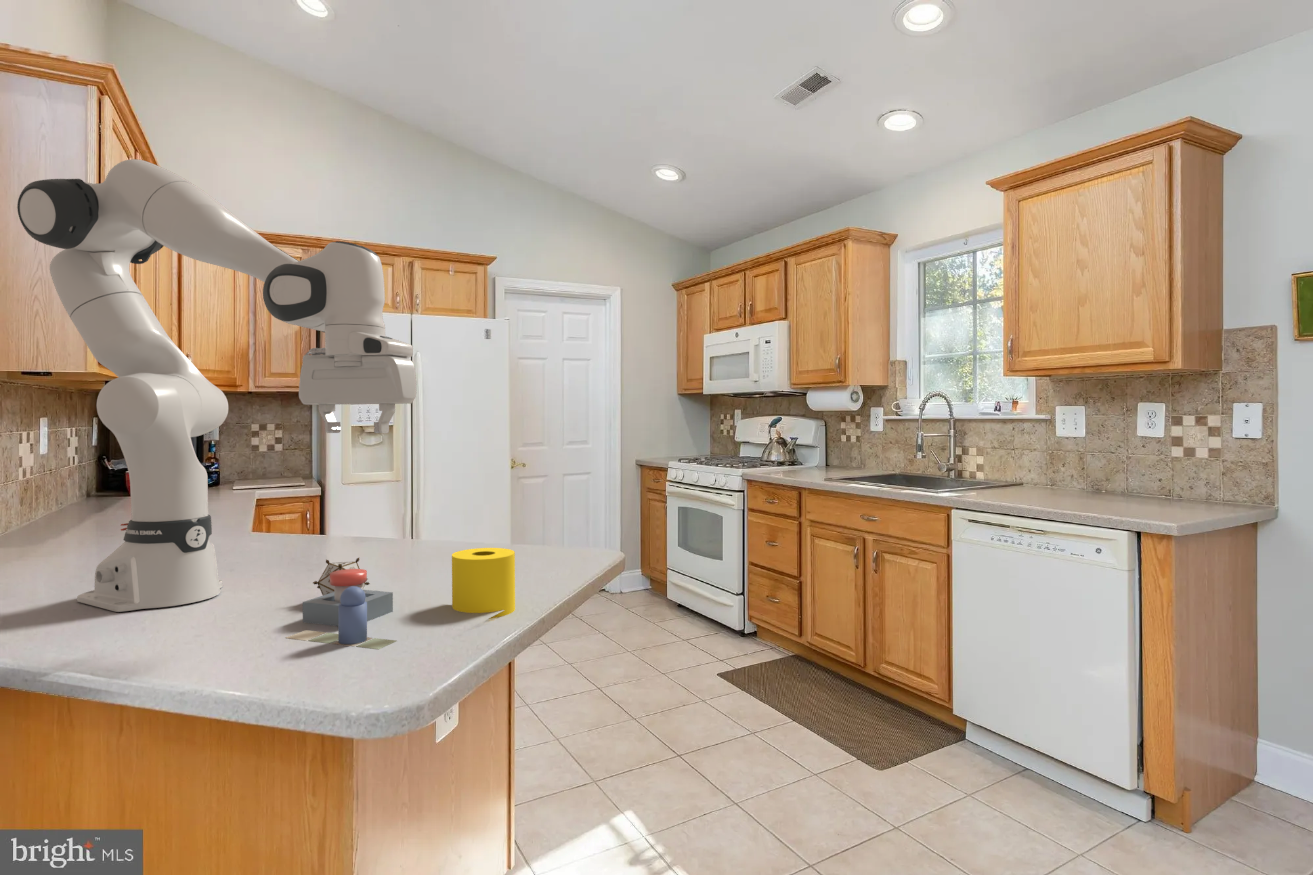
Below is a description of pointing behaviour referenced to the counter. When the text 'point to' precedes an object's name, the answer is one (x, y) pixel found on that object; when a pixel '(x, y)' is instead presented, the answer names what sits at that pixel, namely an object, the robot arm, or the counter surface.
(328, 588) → the game die
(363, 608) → the pawn
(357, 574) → the plunger
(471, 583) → the yellow hollow cylinder
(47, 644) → the counter surface
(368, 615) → the base
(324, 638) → the track board
